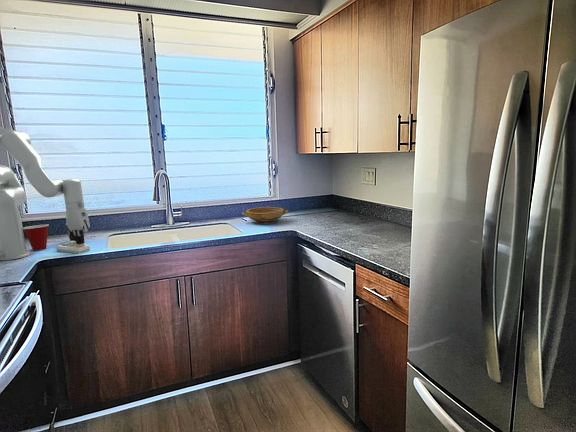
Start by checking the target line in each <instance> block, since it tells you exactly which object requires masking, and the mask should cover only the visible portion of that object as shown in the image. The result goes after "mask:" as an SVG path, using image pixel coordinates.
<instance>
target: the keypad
mask: <svg viewBox="0 0 576 432" xmlns="http://www.w3.org/2000/svg"><path fill="white" fill-rule="evenodd" d="M56 249H57V250H56V251H57V252H63V253H72V254H79V253H80V254H82V253H86V252H90V251H91V247H90V245H89V244H84V247H76V246H69V245H68V246H62V244H59V245H56Z"/></svg>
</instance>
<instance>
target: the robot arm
mask: <svg viewBox="0 0 576 432" xmlns="http://www.w3.org/2000/svg"><path fill="white" fill-rule="evenodd" d="M31 141H32V140H31V137H30V136H29V135H28V134H27V133H26V132H23V131H19V130H16V129H15V130H14V129H10V128H5V127H1V126H0V147H3V149H5V150H6V151H7V152H8V154H9V155H10V156H11V157H12V158H13V159H14V160H15V161H16V162H17V164H18V165H19V166H20V167H21V168H22V170H23V171H22V172H23V173H24V176H25V177H26V179H27V181H28V182H29V183H30V185H31V186H32V187H33V188H34V189H35V190H36V191H37V192H38V194H39V195H41V196H43V197H44V198H49V199H50V198H54V197H58V196H61V195H63V198H64V205H65V221H66V224H67V227H68V228H69V229H70V231H71V232H73V233H74V236H75V238H76V244H83V243H84V244H85V233H86V232H89V230H88V229H89V228H91V226H90V225H91V224H90V218H89V215H88V211H87V209H86V207H85V203H84V196H83V189H82V181H80V179H78V178H70V179H69V178H68V179H57V178H56V179H50V178H49V176H48V175H47V174H46V173H45V171H44V170H43V168H42V159H41V156H40V155H39V154H38V153H37V151H35V149H34V148H33V147H32V146H31V144H32V142H31ZM26 201H27V193H26V190H25V189H24V187H23V185H22V184H21V182H20V179H18V177H17V175H16V173H15V172H14V171H13V169H11V167H9V166H6V165H3V164H0V261H11V260H17V259H18V260H19V259H21V258H22V259H23V258H25V257H28V256H30V255H32V254H31V250H27V247H26V239H25V234H24V229H23V228H24V227H23V221H22V216H21V213H20V211H19V208H18V207H20V206H22V205H24V204H25V203H26Z"/></svg>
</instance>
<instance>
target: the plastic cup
mask: <svg viewBox="0 0 576 432" xmlns="http://www.w3.org/2000/svg"><path fill="white" fill-rule="evenodd" d="M49 226H50V224H48V223H47V224H38V225H30V226H29V225H28V226H24V227H23V231H24V232H25V234H26V236H27V239H28V242H29V244H30V247H31V249H32V250H33V251H42V250H45V249H47V248H48V247H47V245H48V230H49Z"/></svg>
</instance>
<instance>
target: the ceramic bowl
mask: <svg viewBox="0 0 576 432" xmlns="http://www.w3.org/2000/svg"><path fill="white" fill-rule="evenodd" d="M288 213H289V210H288V209H286V210H285V209H284V208H283V207H277V206H276V207H274V206H263V207H253V208H249V209H246V211H242V212H241V215H243V216H245V217H247V218H249V219H250V220H252V221H255V222H256V223H257V224H259V223H260V224H259V225H265V224H264V223H270V224H274V223H275V221H278V220H279V219H280V218H282V216H284V215H286V214H288ZM273 222H274V223H273Z"/></svg>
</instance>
